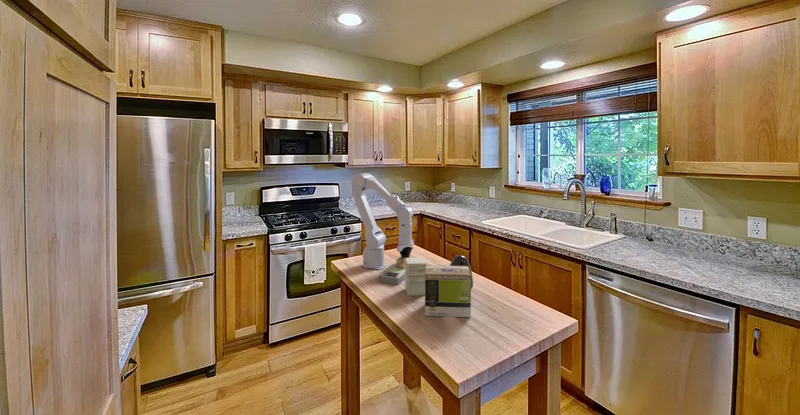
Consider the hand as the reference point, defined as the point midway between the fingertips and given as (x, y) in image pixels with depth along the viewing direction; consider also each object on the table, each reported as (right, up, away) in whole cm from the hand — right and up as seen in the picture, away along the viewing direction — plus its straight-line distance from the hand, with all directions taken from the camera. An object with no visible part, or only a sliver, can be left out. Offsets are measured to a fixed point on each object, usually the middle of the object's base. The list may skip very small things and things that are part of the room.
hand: (405, 262), depth 164 cm
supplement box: (+3, -8, -24) cm, 26 cm away
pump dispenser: (+20, -8, -26) cm, 34 cm away
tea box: (+13, -10, -41) cm, 44 cm away
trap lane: (-2, -4, -4) cm, 7 cm away
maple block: (-1, -2, -3) cm, 3 cm away
